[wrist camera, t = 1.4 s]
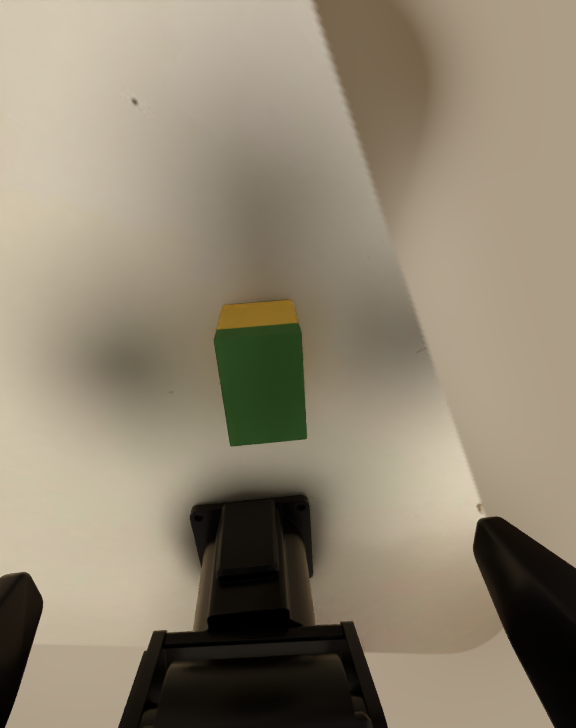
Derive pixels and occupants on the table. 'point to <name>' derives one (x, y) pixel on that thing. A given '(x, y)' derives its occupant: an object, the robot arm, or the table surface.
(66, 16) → the table surface
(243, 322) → the sponge
